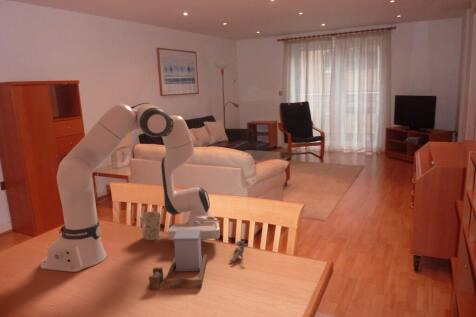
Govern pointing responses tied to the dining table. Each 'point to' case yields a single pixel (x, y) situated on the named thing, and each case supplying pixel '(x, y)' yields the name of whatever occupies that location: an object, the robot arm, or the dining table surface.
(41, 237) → the dining table surface
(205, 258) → the bay
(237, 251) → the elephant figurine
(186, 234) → the gray rectangular block
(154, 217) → the mug
